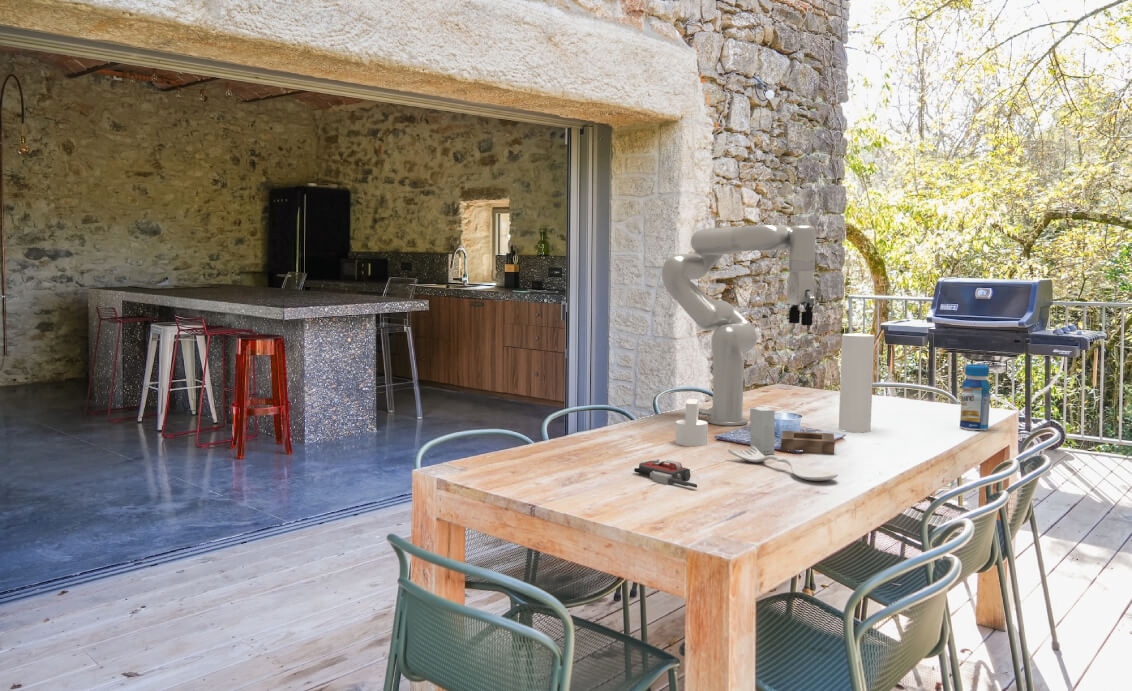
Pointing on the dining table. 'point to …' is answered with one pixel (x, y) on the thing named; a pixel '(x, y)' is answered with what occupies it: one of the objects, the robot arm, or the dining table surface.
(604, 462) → the dining table surface
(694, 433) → the cylinder with rectangular tab
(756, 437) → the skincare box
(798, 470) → the beige plastic utensil
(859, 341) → the tall grey rectangular pillar
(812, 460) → the dining table surface
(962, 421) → the beverage bottle
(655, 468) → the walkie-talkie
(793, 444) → the socket block
